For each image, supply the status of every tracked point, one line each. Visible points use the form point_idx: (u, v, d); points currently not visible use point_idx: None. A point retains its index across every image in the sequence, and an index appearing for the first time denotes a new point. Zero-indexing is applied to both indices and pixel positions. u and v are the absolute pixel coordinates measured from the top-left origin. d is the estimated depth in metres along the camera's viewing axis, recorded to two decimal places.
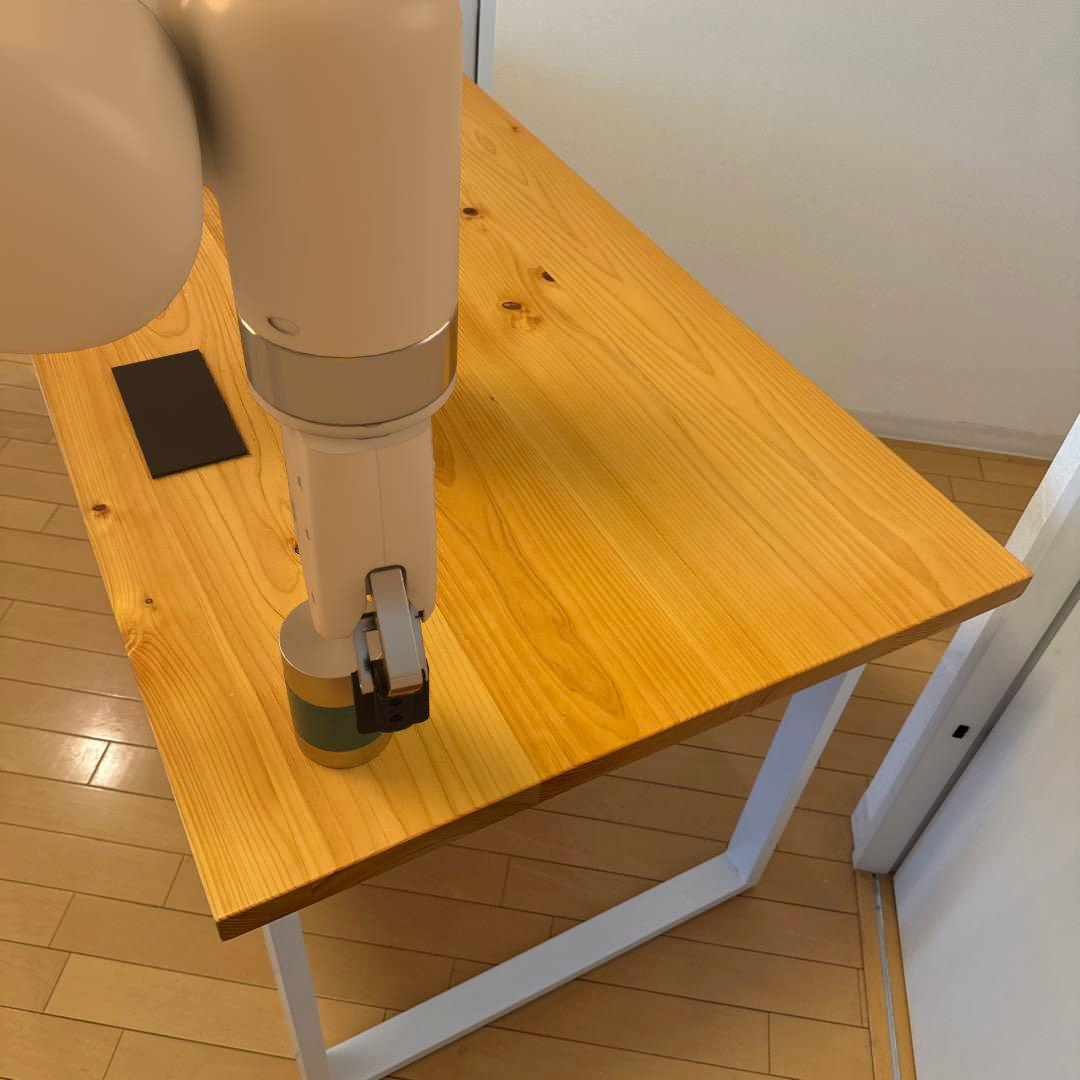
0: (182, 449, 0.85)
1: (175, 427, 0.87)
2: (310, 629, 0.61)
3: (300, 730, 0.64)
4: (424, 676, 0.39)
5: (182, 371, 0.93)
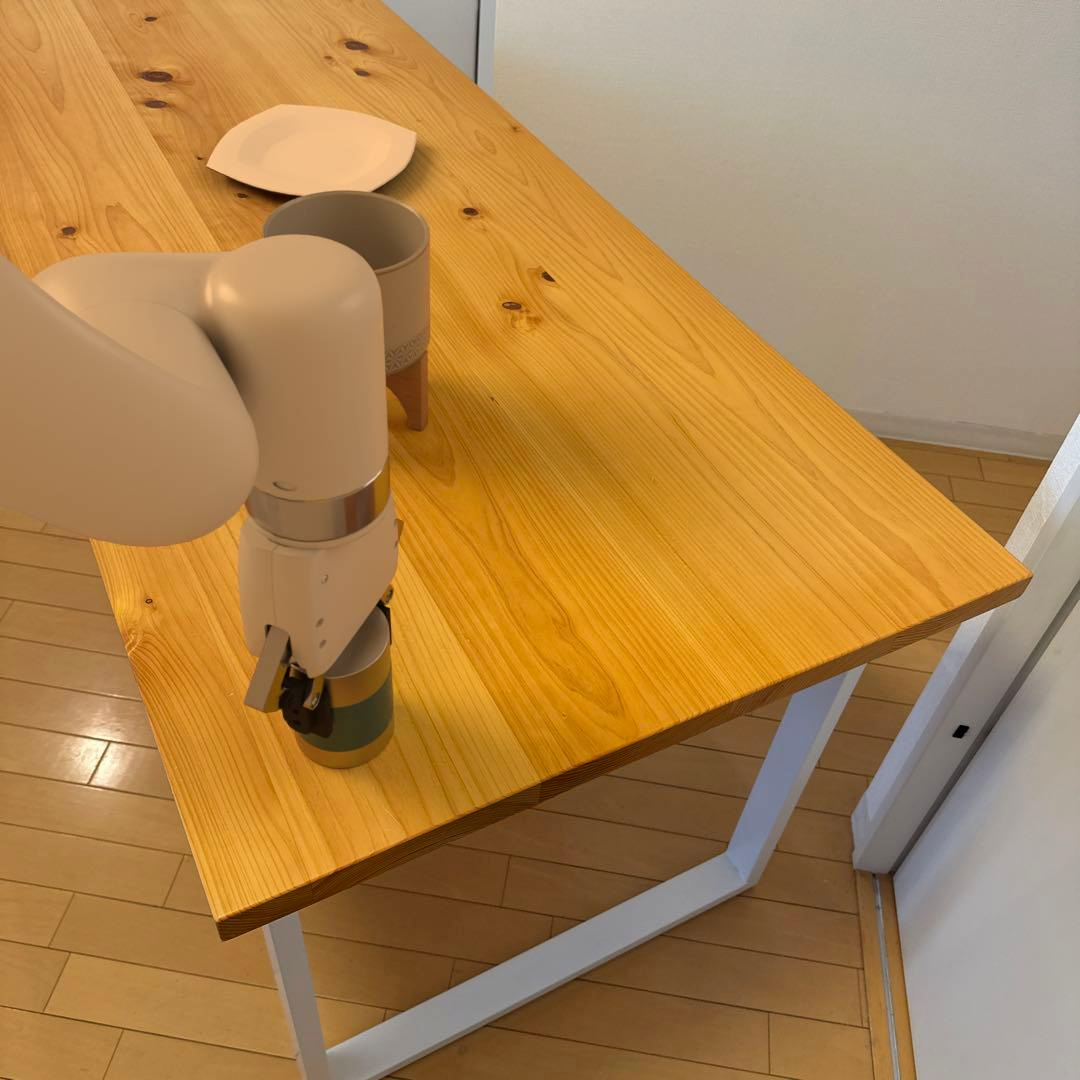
0: None
1: None
2: None
3: None
4: (290, 702, 0.56)
5: None
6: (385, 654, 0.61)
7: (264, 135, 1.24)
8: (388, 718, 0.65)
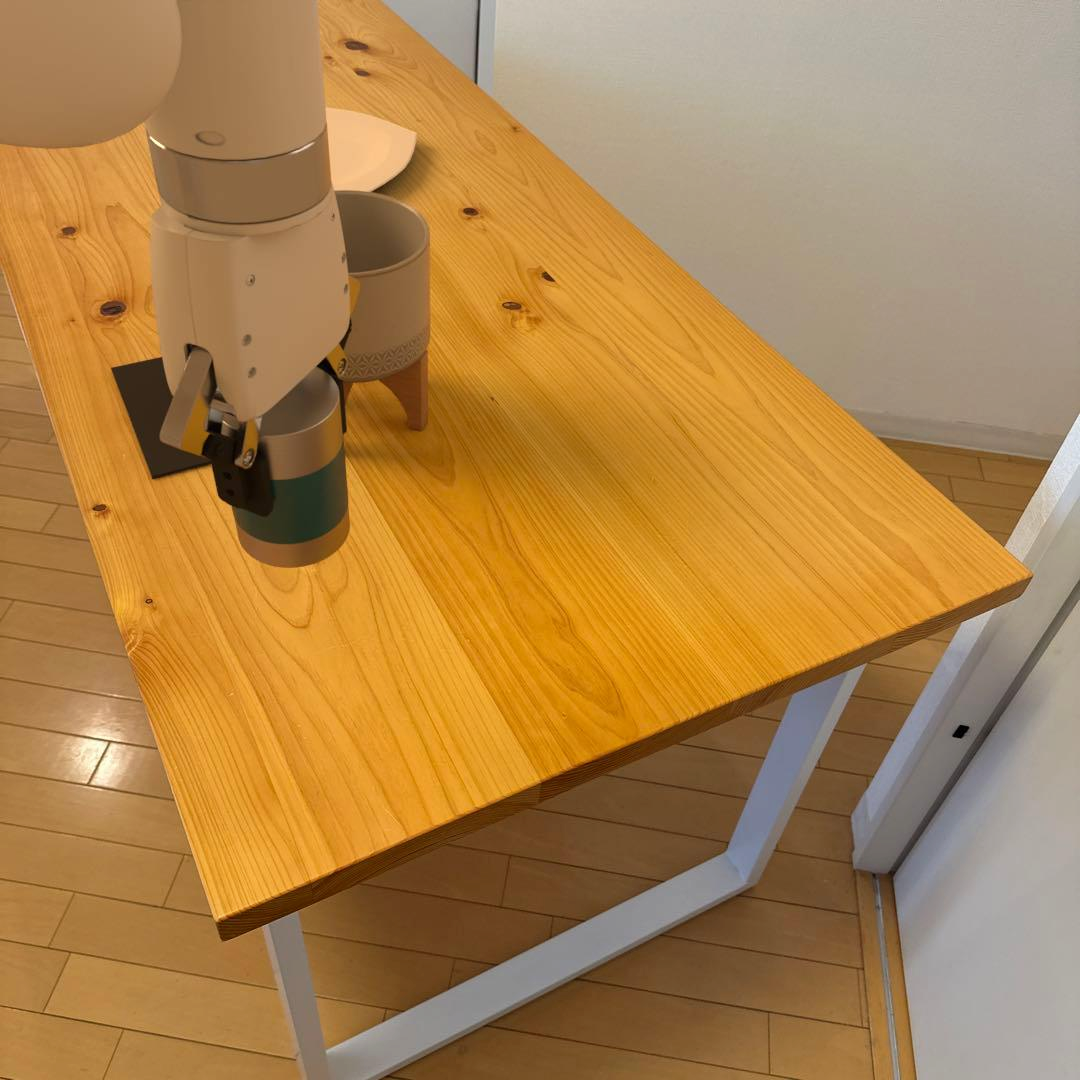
0: None
1: None
2: None
3: (240, 518, 0.57)
4: (216, 448, 0.48)
5: None
6: (333, 420, 0.53)
7: None
8: (341, 511, 0.58)
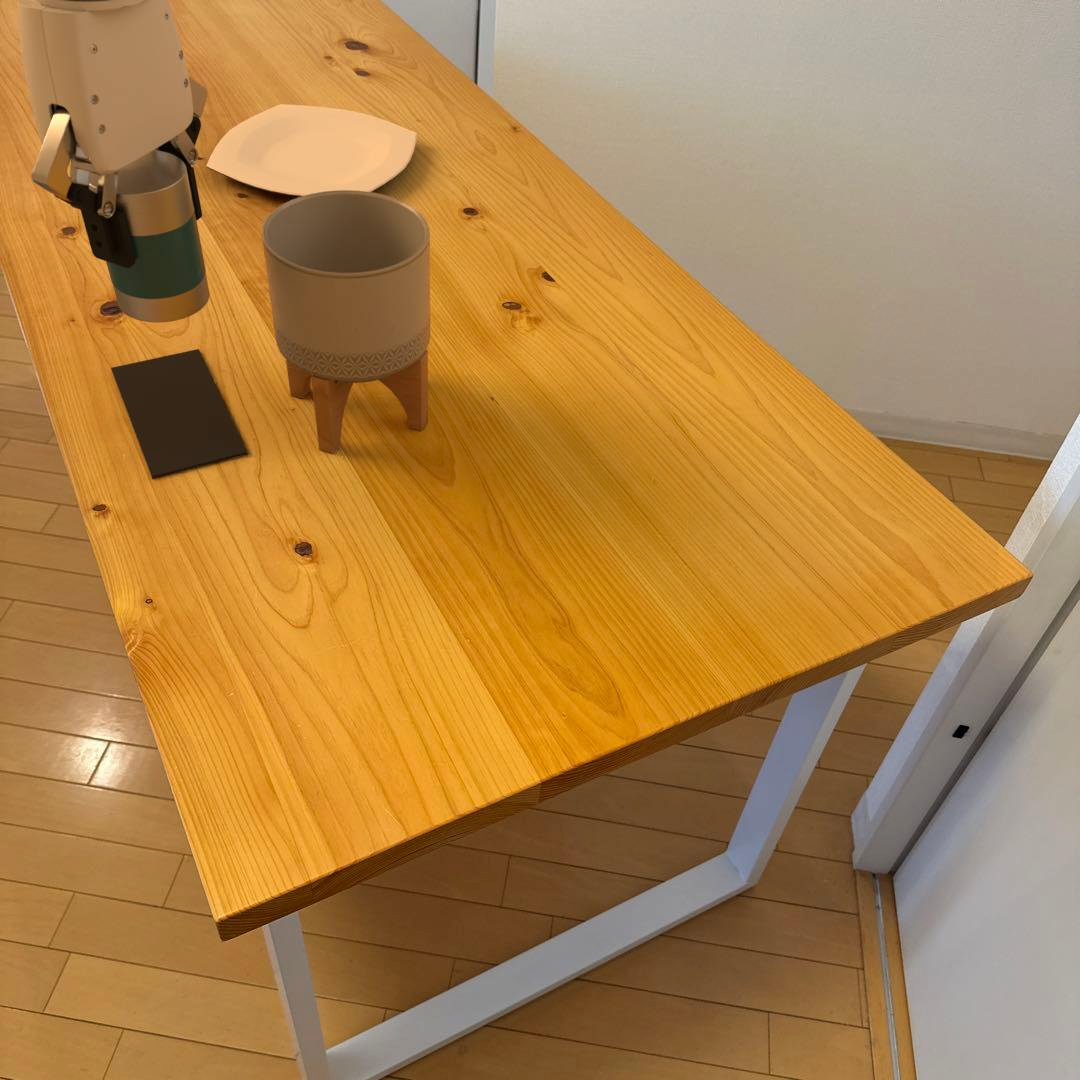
0: (182, 449, 0.85)
1: (175, 427, 0.87)
2: None
3: (114, 278, 0.72)
4: (78, 192, 0.63)
5: (182, 371, 0.93)
6: (180, 189, 0.68)
7: (264, 135, 1.24)
8: (196, 276, 0.73)
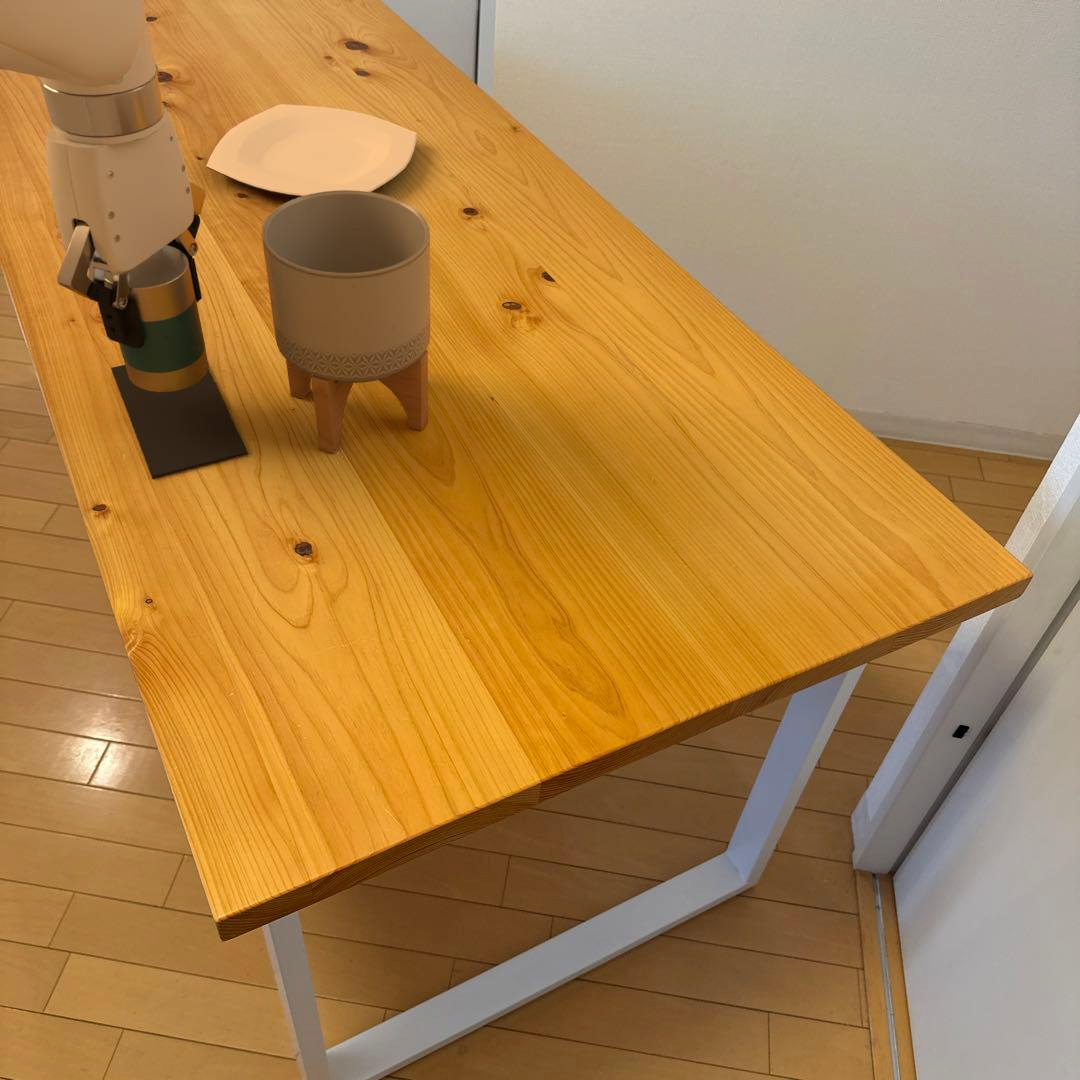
0: (182, 449, 0.85)
1: (175, 427, 0.87)
2: None
3: (125, 355, 0.82)
4: (97, 291, 0.74)
5: None
6: (183, 280, 0.79)
7: (264, 135, 1.24)
8: (197, 351, 0.83)
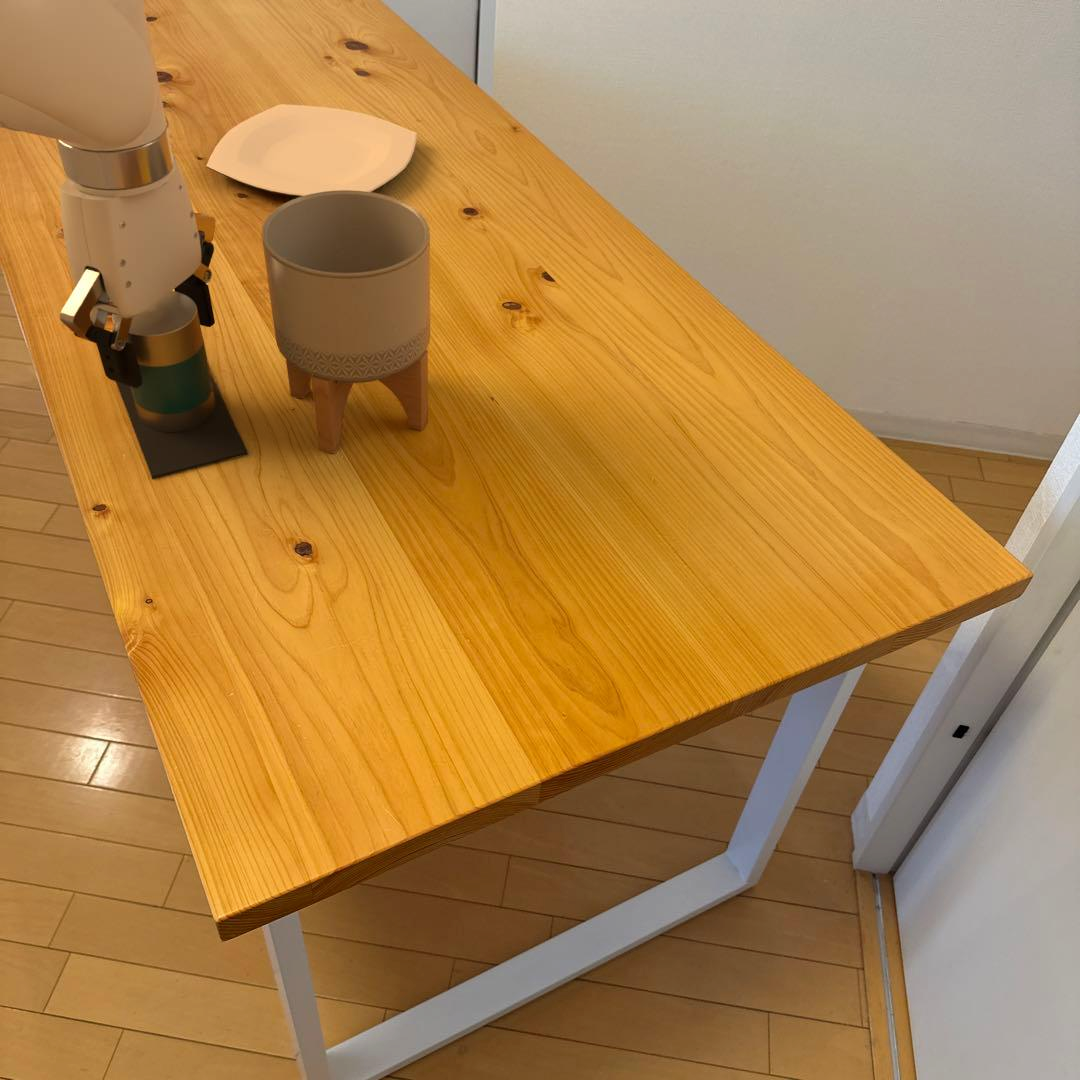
0: (182, 449, 0.85)
1: None
2: None
3: (136, 397, 0.85)
4: (95, 334, 0.75)
5: None
6: (192, 327, 0.82)
7: (264, 135, 1.24)
8: (205, 393, 0.86)
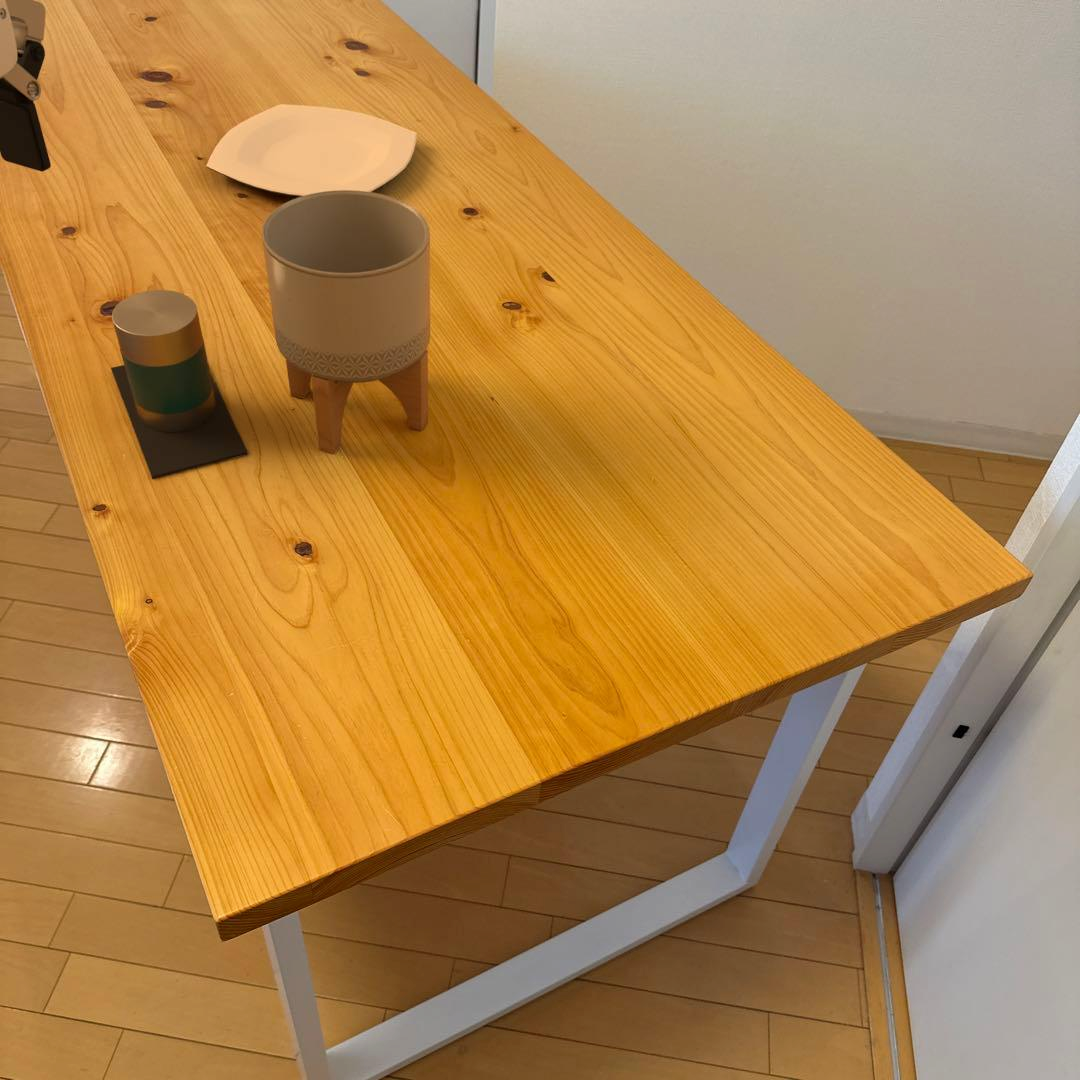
0: (182, 449, 0.85)
1: None
2: (137, 309, 0.82)
3: (136, 397, 0.85)
4: None
5: None
6: (192, 327, 0.82)
7: (264, 135, 1.24)
8: (205, 393, 0.86)
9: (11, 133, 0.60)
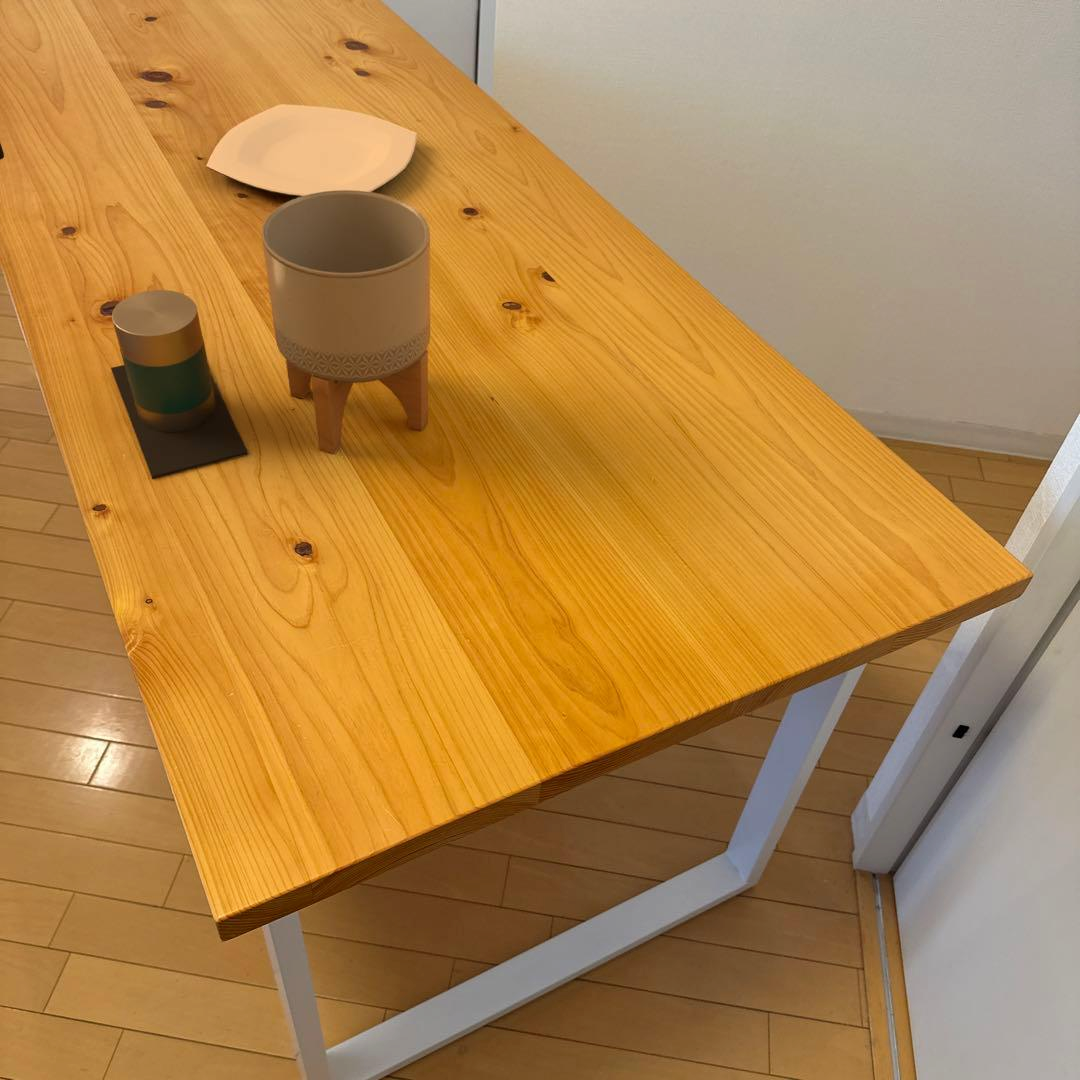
0: (182, 449, 0.85)
1: None
2: (137, 309, 0.82)
3: (136, 397, 0.85)
4: None
5: None
6: (192, 327, 0.82)
7: (264, 135, 1.24)
8: (205, 393, 0.86)
9: None
